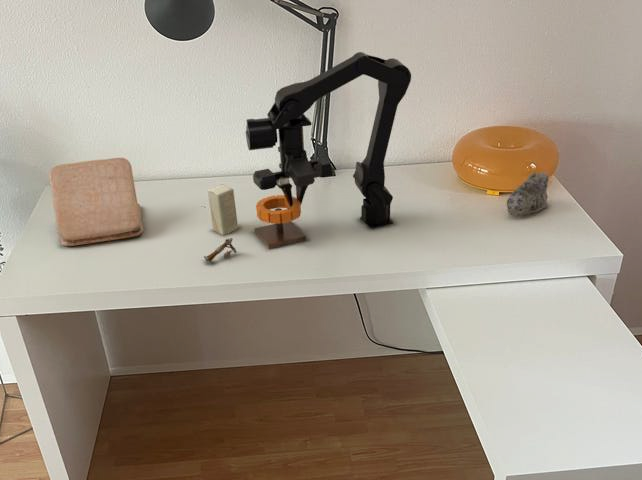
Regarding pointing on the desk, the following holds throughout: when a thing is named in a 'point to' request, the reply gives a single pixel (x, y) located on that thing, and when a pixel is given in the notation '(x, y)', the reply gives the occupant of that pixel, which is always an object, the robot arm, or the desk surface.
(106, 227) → the case
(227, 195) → the box
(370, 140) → the robot arm
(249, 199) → the desk surface
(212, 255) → the wooden post with brackets
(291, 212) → the orange ring
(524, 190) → the mineral rock
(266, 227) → the brown peg stand
